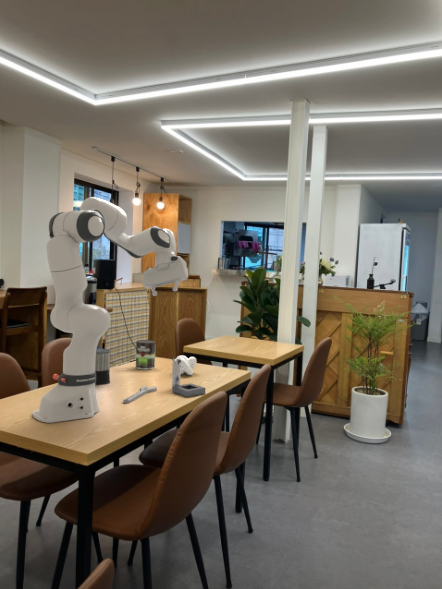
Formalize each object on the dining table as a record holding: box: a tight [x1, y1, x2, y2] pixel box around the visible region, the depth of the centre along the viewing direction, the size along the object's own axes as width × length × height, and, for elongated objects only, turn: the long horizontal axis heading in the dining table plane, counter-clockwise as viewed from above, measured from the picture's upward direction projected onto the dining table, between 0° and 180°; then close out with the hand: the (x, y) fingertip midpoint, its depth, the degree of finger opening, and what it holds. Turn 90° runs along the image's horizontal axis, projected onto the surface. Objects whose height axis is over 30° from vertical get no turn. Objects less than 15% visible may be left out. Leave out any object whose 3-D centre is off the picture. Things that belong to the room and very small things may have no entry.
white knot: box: [175, 355, 197, 376], centre depth 233 cm, size 11×12×9 cm
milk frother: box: [95, 348, 111, 386], centre depth 212 cm, size 14×16×15 cm
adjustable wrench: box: [122, 385, 157, 405], centre depth 191 cm, size 25×6×2 cm, turn 159°
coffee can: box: [135, 339, 157, 370], centre depth 246 cm, size 10×10×14 cm
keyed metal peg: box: [171, 357, 181, 389], centre depth 204 cm, size 4×5×13 cm
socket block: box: [171, 382, 206, 398], centre depth 197 cm, size 10×10×2 cm
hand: (164, 293), depth 192 cm, fingers open, 8 cm apart
